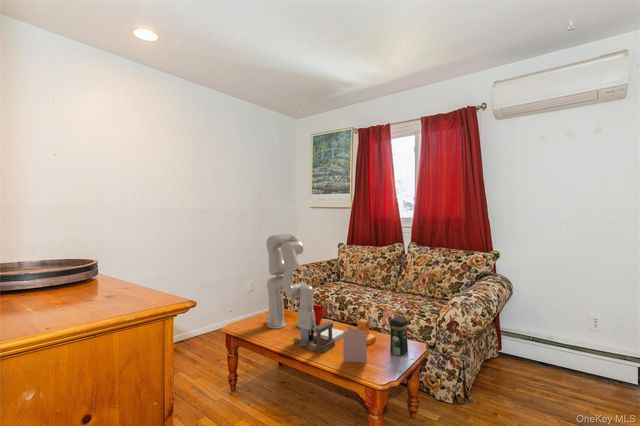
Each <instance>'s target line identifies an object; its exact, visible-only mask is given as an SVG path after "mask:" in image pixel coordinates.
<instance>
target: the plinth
mask: <svg viewBox="0 0 640 426" xmlns="http://www.w3.org/2000/svg"><path fill="white" fill-rule="evenodd" d="M343 332H346V331H344V330H341V329H336V328H333V327H332V340H335V342H337V341H339V340H340V339H343ZM321 336H322V337H325V338H328V329H327V330H325V331H323V332H322V333H321Z"/></svg>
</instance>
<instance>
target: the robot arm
mask: <svg viewBox="0 0 640 426" xmlns="http://www.w3.org/2000/svg"><path fill="white" fill-rule="evenodd" d="M265 246H266V250H267V253H268V271H269V274H270V275H271V276H274V277H271V278H269V279H268V280H267V282H266V288H267V292H268V293H267V294H268V315H267V316H266V318H265V320H266V321H267V322H266V327H267V328H269V329H273V330H274V329H276V330H277V329H281V328H284V327H285V326H287V321H285V320H284V319H285V317H284V313H285V311H284V296H283V295H282V293H281V292H282V291H283V292H284V294H285V296H286V297H287V298H288V299H294V298H298V297H299V305H298V307H299V310H298V313H297V323H296V326H297V327H298V329H299V332H300V333H301V328H303V329H307V330H309V333H310V334H309V342H311V341H313V334H315V333H316V332H315V328H317V327H318V326H317V324H316V322H315V313H314V310H313V305H314V289H313V286H312V285H308V284H307V283H305V282H299V283H294V271H295V270H297V269H299V267H300V263H299V262H300V261H299V259H298V256H297V255H301V254H303V253H304V245H303V243H302V242H301V241H300V239H298V238H297V237H296V236H294V235H293V234H286V233H285V234H275V235H270V236H269V237H267V239H266V245H265ZM279 275H280V276H279ZM311 330H312V332H311ZM313 342H314V341H313Z"/></svg>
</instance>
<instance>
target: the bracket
mask: <svg viewBox="0 0 640 426" xmlns="http://www.w3.org/2000/svg"><path fill="white" fill-rule="evenodd" d="M370 326H371V323H370V321H369V320H366V319H362V318H361V319H359V320H358V321H357V325H356V329H357V330H360V331H363V332H366V341H367V346H369V345H370V344H373V343H374V342H375V341H377V340H376V339H377V335H375V334H373V333H370V330H369V329H370Z"/></svg>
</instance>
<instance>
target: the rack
mask: <svg viewBox="0 0 640 426" xmlns="http://www.w3.org/2000/svg"><path fill="white" fill-rule="evenodd" d="M292 341H293V345H294V346H298V347H300V348H304V349H306V350H309V351H312V352H315V353H318V354H321V355H322V354H324V353H325V352H326V351H328V350H330V349H332V348H334V347H336V346H335V344H336V343H335V342H336V341H335V340H332V339H331V340H329V339H328V338H325V337H322V336H321V344H324V345H321V346H317V343H316V344H315V343H309V342H306V341H303V340H301V338H297V337H294V338H293V340H292ZM313 342H317V334H315V333H314V334H313Z"/></svg>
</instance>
